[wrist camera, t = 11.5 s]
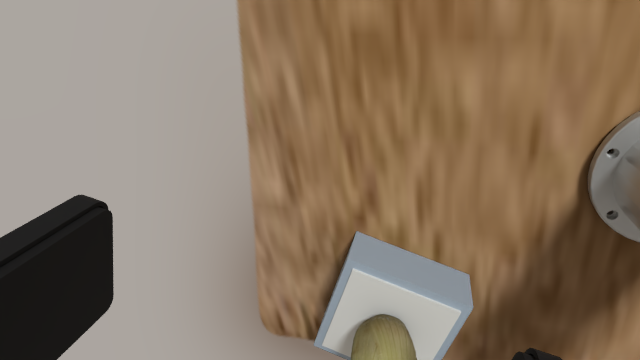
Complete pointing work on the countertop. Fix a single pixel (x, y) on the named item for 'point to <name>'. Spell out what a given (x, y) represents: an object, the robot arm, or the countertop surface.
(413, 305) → the base block
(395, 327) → the fennel bulb
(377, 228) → the countertop surface
